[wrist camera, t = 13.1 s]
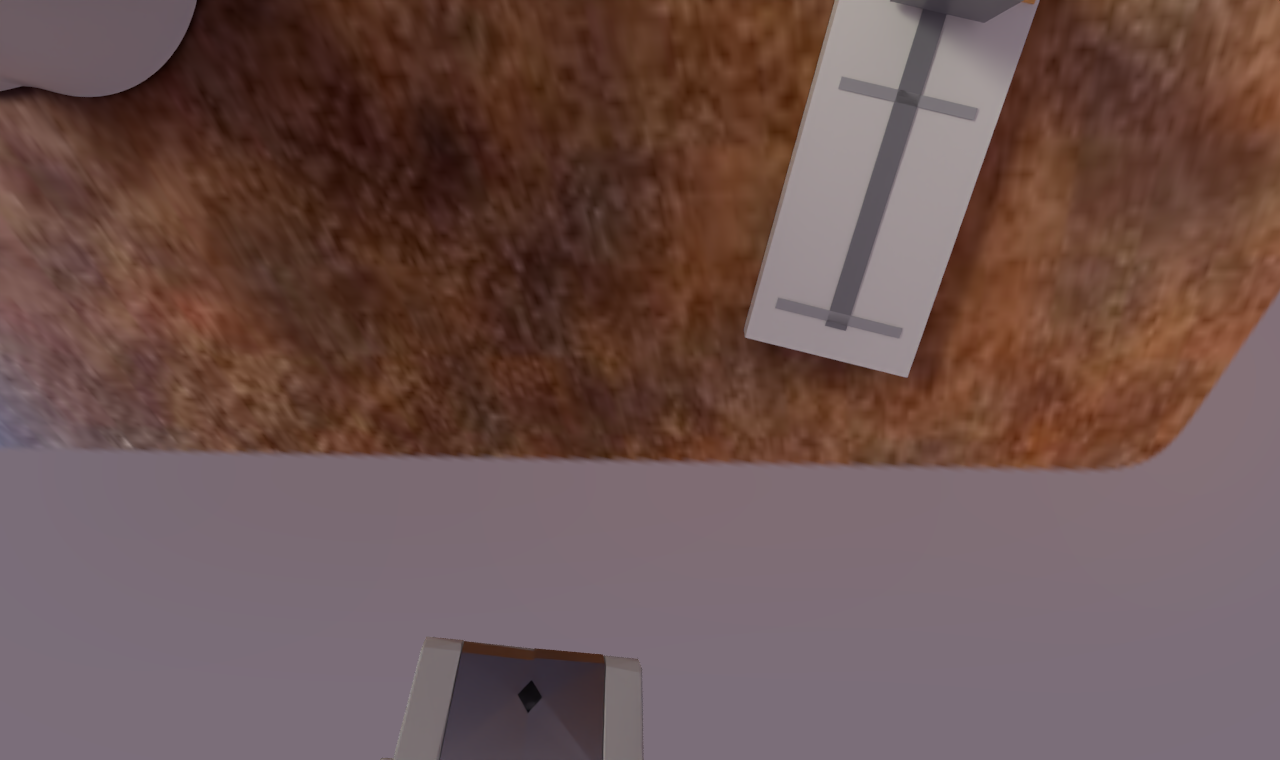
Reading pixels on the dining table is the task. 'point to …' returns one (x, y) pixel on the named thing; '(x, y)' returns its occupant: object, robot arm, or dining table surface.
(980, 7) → the slider knob
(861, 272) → the slider box
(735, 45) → the dining table surface
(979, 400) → the dining table surface
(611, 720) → the robot arm
